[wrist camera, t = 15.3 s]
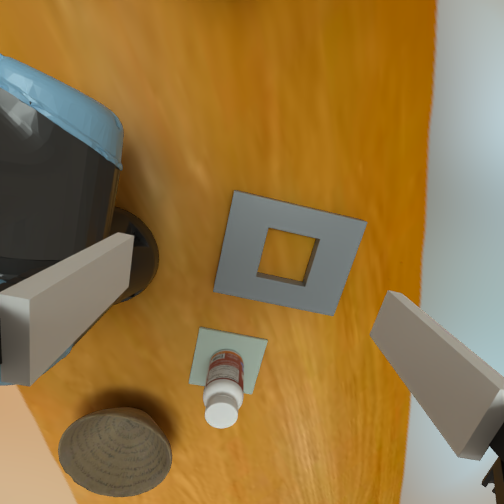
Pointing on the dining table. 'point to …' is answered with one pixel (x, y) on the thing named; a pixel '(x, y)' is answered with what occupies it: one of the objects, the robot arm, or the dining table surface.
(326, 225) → the socket block
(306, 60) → the dining table surface
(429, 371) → the robot arm
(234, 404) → the pill bottle
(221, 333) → the mat
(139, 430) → the bowl
